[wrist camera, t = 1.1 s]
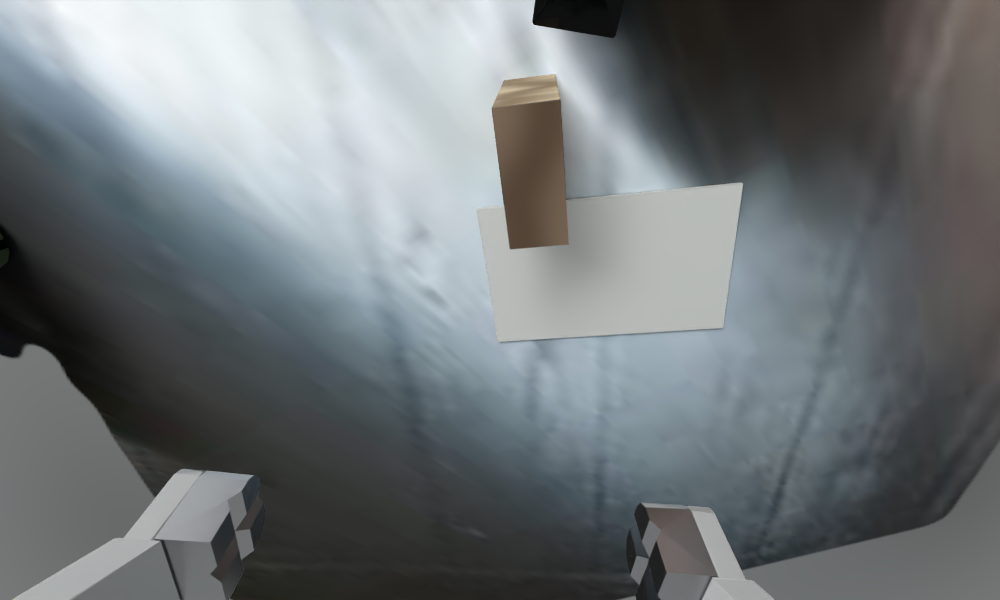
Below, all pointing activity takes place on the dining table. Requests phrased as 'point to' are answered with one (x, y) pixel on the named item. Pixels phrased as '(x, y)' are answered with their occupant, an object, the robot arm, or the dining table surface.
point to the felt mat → (617, 266)
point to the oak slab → (531, 161)
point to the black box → (579, 15)
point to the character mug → (3, 254)
